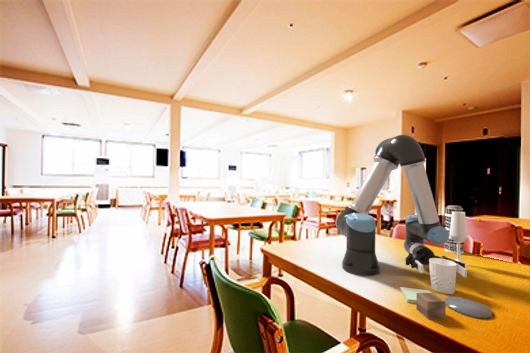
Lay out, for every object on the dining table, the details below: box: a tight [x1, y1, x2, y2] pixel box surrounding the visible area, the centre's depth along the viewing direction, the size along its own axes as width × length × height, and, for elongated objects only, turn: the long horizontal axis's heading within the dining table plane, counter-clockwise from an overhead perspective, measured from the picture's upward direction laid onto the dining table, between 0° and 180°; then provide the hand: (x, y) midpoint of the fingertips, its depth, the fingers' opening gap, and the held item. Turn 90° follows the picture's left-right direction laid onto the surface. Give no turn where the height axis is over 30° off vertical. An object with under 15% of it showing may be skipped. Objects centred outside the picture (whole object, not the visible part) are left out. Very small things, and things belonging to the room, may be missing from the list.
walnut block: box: [416, 292, 447, 320], centre depth 70 cm, size 5×5×5 cm
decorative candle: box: [442, 204, 465, 255], centre depth 132 cm, size 9×9×25 cm
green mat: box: [399, 286, 432, 304], centre depth 79 cm, size 9×9×1 cm
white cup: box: [428, 257, 457, 295], centre depth 85 cm, size 8×8×10 cm
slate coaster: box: [444, 296, 493, 319], centre depth 73 cm, size 11×11×1 cm
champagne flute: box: [449, 211, 469, 267], centre depth 112 cm, size 7×7×24 cm
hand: (443, 271), depth 87 cm, fingers open, 13 cm apart
